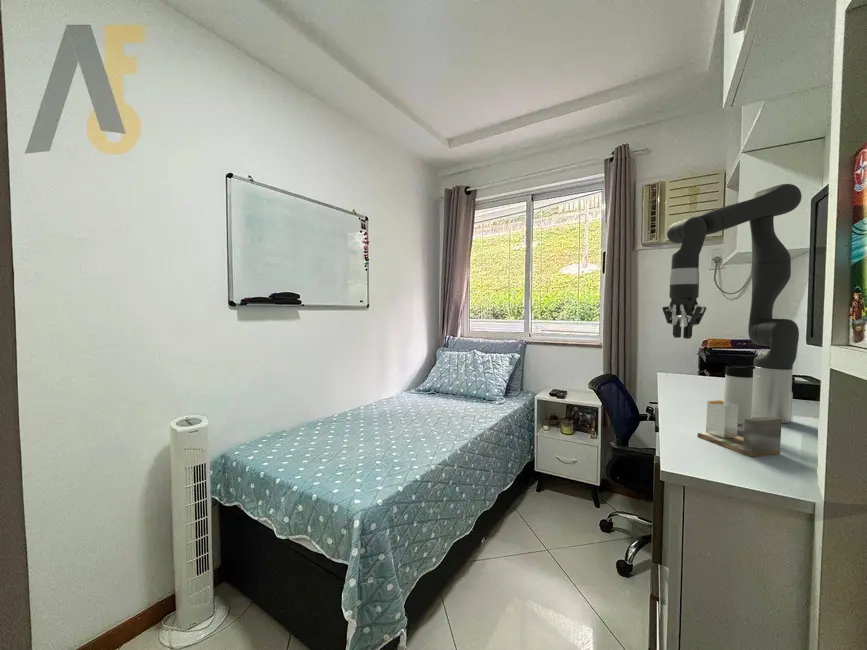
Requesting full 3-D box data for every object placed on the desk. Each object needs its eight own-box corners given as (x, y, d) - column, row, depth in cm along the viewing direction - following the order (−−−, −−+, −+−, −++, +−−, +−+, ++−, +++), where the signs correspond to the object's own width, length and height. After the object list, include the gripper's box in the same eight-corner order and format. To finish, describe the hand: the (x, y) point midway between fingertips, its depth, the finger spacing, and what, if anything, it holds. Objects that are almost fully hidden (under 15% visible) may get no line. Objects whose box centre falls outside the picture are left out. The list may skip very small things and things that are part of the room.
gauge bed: (697, 436, 99) (698, 405, 99) (722, 434, 101) (724, 403, 101) (751, 457, 86) (753, 421, 85) (779, 454, 88) (781, 418, 87)
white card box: (700, 432, 99) (701, 399, 98) (718, 431, 100) (719, 398, 100) (718, 439, 94) (719, 404, 93) (736, 437, 95) (738, 402, 95)
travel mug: (745, 437, 99) (749, 367, 98) (718, 429, 105) (721, 363, 104) (756, 433, 102) (759, 365, 101) (728, 426, 108) (731, 362, 107)
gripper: (716, 282, 104) (713, 339, 105) (674, 285, 118) (672, 336, 119) (695, 281, 102) (692, 340, 103) (655, 284, 116) (653, 336, 117)
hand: (681, 337), depth 111 cm, fingers open, 3 cm apart
